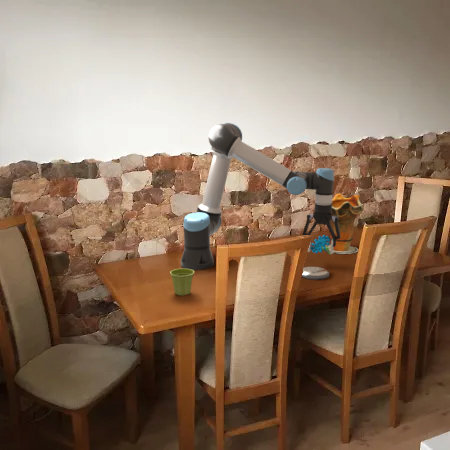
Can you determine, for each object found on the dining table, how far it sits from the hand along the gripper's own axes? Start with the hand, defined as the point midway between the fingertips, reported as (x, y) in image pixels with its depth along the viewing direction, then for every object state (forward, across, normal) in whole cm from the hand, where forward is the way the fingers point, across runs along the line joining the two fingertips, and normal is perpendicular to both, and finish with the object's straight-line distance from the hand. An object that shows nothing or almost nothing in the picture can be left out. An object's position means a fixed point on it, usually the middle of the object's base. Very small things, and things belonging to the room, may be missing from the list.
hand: (320, 252), depth 233 cm
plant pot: (+8, +45, +51) cm, 69 cm away
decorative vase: (+7, -6, -31) cm, 32 cm away
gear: (0, 0, 0) cm, 1 cm away
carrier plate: (+7, 0, +13) cm, 15 cm away
